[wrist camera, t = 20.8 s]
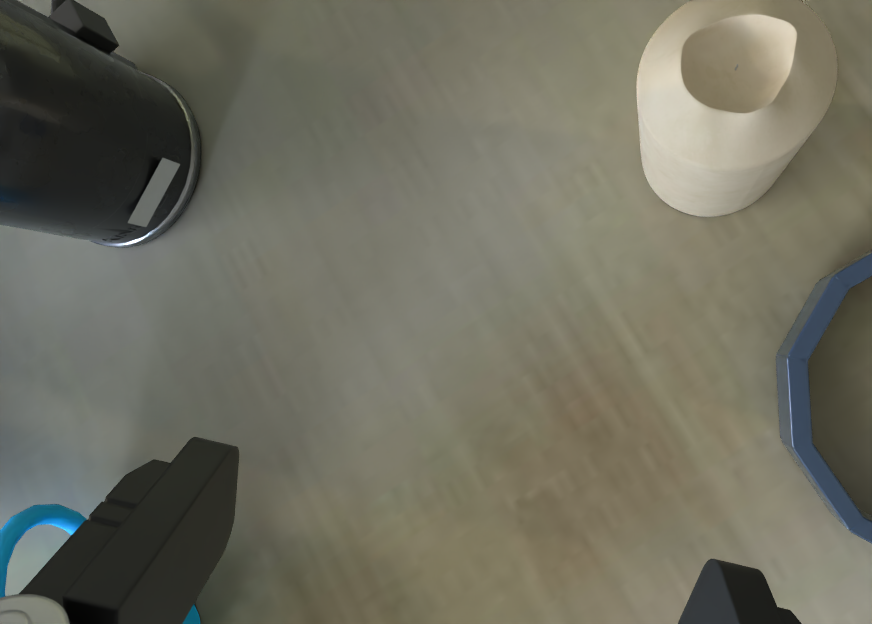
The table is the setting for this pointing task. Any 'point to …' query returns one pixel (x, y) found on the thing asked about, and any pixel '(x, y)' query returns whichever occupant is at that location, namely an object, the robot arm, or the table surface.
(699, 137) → the candle
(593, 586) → the table surface
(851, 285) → the ring
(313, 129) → the table surface
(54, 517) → the mug
